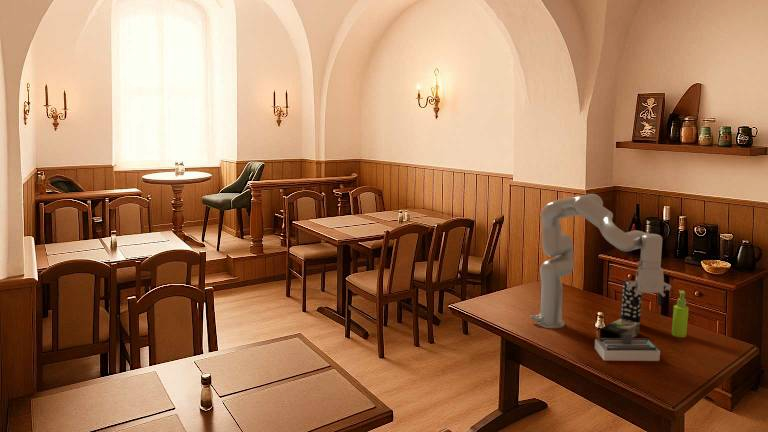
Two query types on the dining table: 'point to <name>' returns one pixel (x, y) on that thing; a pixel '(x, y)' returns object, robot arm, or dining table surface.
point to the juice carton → (620, 328)
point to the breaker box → (627, 350)
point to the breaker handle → (627, 338)
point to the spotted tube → (630, 304)
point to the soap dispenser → (680, 317)
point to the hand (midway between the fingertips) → (647, 305)
